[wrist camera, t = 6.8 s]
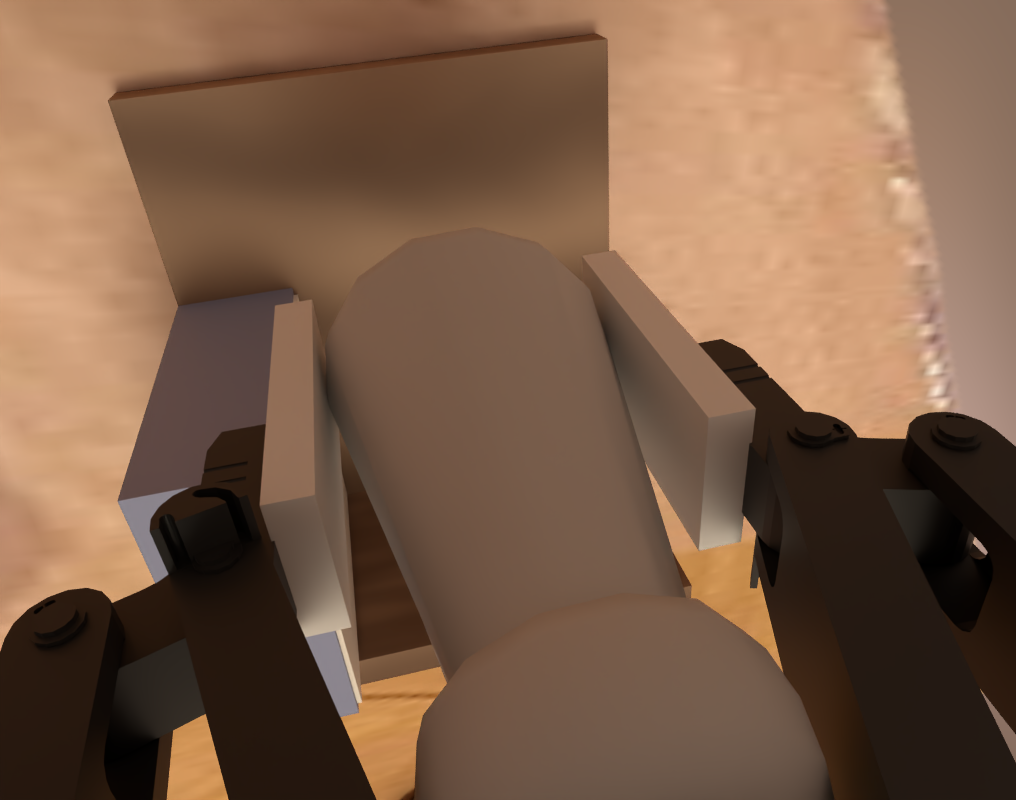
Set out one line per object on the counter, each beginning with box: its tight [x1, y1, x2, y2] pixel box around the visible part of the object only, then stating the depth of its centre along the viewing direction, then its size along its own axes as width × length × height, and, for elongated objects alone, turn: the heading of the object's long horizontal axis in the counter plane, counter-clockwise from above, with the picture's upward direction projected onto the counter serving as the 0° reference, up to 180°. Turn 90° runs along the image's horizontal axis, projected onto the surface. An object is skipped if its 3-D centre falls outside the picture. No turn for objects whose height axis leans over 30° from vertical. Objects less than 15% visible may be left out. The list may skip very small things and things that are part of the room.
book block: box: [118, 288, 362, 717], centre depth 26 cm, size 10×4×11 cm, turn 5°
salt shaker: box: [325, 227, 835, 800], centre depth 13 cm, size 6×6×13 cm
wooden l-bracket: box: [108, 34, 692, 685], centre depth 27 cm, size 18×16×10 cm
